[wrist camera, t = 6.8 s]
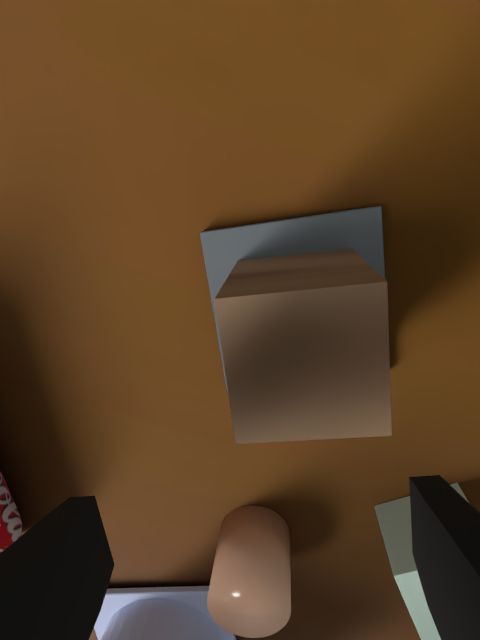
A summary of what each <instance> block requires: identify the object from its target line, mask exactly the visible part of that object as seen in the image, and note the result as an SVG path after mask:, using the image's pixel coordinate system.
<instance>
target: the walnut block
mask: <svg viewBox="0 0 480 640" xmlns="http://www.w3.org/2000/svg"><path fill="white" fill-rule="evenodd" d="M214 300H215V307H216V314H217V320H218V327H219V334H220V340H221V347H222V354H223V361H224V367H225V374H226V381H227V387H228V394H229V401H230V408H231V414H232V421H233V428H234V434H235V441H236V444H246V443H265V442H283V441H302V440H320V439H339V438H357V437H376V436H392V430H391V394H390V358H389V322H388V286H387V281H386V280H385V279H384V278H383V277H382V276H381V275H380V274H379V273H378V272H377V271H376V270H375V269H374V268H372V267H371V266H370V265H369V264H368V263H367V262H366V261H365V260H364V259H363V258H362V257H361V256H360V255H359V254H358V253H357V252H356V251H355V250H354V249H353V248H349V249H340V250H331V251H322V252H313V253H304V254H295V255H286V256H277V257H268V258H259V259H250V260H241V261H237V263H236V264H235V266H234V268H233V269H232V271H231V272H230V274H229V276H228V277H227V279H226V281H225V282H224V284H223V286H222V287H221V289H220V290H219V292H218V294H217V295H216V297H215V299H214Z"/></svg>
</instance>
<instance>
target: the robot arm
mask: <svg viewBox="0 0 480 640" xmlns="http://www.w3.org/2000/svg"><path fill="white" fill-rule="evenodd" d="M409 480H410V504H411V528H412V553H413V557H414V560H415V564H416V568H417V571H418V575H419V578H420V582H421V585H422V589H423V592H424V595H425V599H426V602H427V605H428V608H429V610H430V613H431V615H432V618H433V621H434V623H435V626H436V628H437V631H438V633H439V636H440V638H441V640H480V513H479V512H478V511H477V510H476V509H475V508H474V507H473V506H472V505H471V504H470V503H469V502H468V501H466V500H465V499H464V498H463V497H462V496H461V495H460V494H459V493H458V492H457V491H456V490H455V489H454V488H453V487H452V486H451V485H450V484H449V483H447V482H446V481H445V480H444V479H443V478H442V477H441V476H439V475H435V476H419V477H409ZM113 567H114V562H113V558H112V555H111V551H110V548H109V544H108V541H107V537H106V534H105V530H104V527H103V523H102V520H101V516H100V513H99V509H98V506H97V502H96V499H95V496H84V497H71V498H69V499H68V500H66V501H65V502H64V503H62V504H61V505H60V506H58V507H57V508H56V509H54V510H53V511H52V512H51V513H49V514H48V515H47V516H45V517H44V518H43V519H42V520H41V521H39V522H38V523H37V524H36V525H34V526H33V527H32V528H31V529H29V530H28V531H27V532H26V533H25V534H23V535H22V536H21V537H20V538H18V539H17V540H16V541H15V542H13V543H12V544H11V545H10V546H9V547H7V548H6V549H5V550H4V551H2V552H1V553H0V640H89V637H90V635H91V633H92V630H93V628H94V629H95V632H96V635H97V638H98V640H236V636H235V634H232V633H230V632H228V631H226V630H224V629H223V628H221V627H220V626H219V625H218V624H217V623H216V622H215V621H214V620H213V619H212V617H211V615H210V613H209V611H208V608H207V597H208V591H209V586H182V587H145V588H109V589H107V588H108V585H109V581H110V578H111V574H112V571H113Z"/></svg>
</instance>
